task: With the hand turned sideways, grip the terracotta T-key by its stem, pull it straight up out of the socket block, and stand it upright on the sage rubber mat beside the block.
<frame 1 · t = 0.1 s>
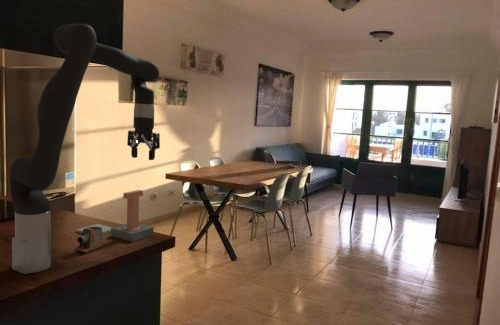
hand: (142, 158, 158), 29 cm above the worktop, tool pointing down, fingers open, 8 cm apart
electronic device: (88, 250, 140), on the worktop
t key: (132, 213, 156), in the socket block
socket block: (132, 235, 157), on the worktop
mat: (96, 231, 160), on the worktop
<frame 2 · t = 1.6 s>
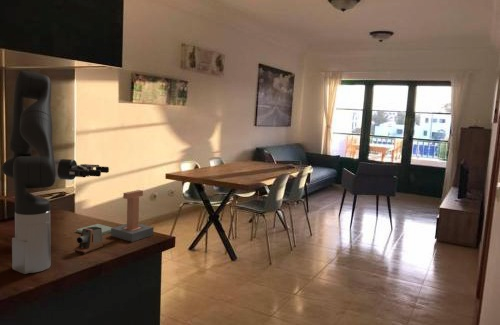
hand: (104, 171, 154), 24 cm above the worktop, tool horizontal, fingers open, 8 cm apart
nothing on the worktop moved.
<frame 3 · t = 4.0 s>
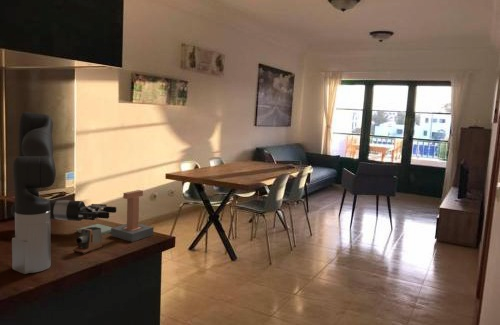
hand: (112, 212, 156), 9 cm above the worktop, tool horizontal, fingers open, 8 cm apart
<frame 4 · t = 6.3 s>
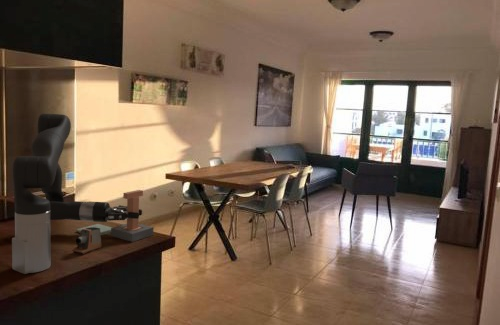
hand: (140, 214, 156), 9 cm above the worktop, tool horizontal, fingers closed on t key, 4 cm apart
t key: (132, 213, 156), in the socket block, touching gripper
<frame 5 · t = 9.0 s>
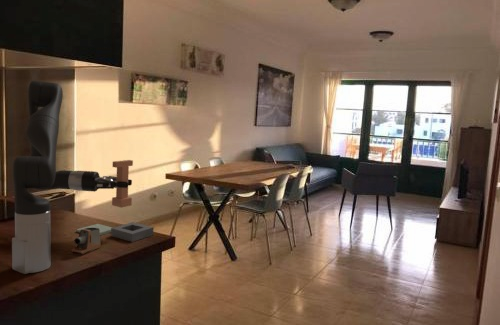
hand: (129, 183, 156), 20 cm above the worktop, tool horizontal, fingers closed on t key, 4 cm apart
t key: (122, 183, 155), point 20 cm above the worktop, touching gripper
when the fingers open (11 cm above the worktop, at t = 11.7 s): t key drops 1 cm, resting on mat.
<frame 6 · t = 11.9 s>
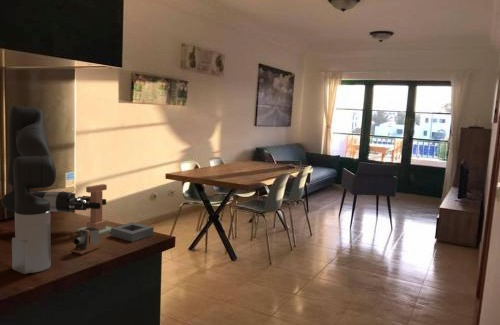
hand: (103, 203, 158), 11 cm above the worktop, tool horizontal, fingers open, 6 cm apart
t key: (96, 207, 158), on the mat, point 10 cm above the worktop
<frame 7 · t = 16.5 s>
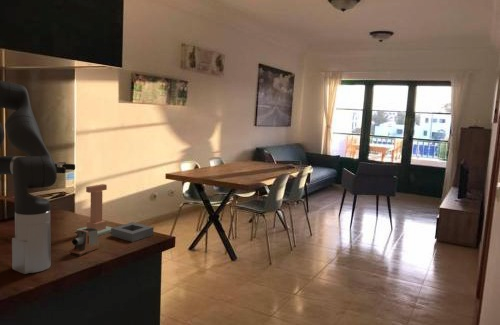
hand: (70, 168, 156), 24 cm above the worktop, tool horizontal, fingers open, 8 cm apart
at the end: t key 0.1 cm off-centre on the mat, point 9.5 cm above the mat's base; t key tilted 0°; the gripper is holding nothing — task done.
